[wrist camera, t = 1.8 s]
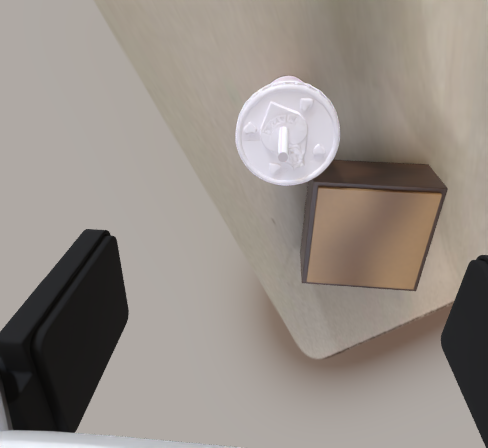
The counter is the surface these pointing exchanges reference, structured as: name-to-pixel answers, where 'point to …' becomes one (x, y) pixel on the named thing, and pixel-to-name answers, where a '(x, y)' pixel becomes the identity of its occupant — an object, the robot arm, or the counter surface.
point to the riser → (370, 224)
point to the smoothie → (287, 132)
